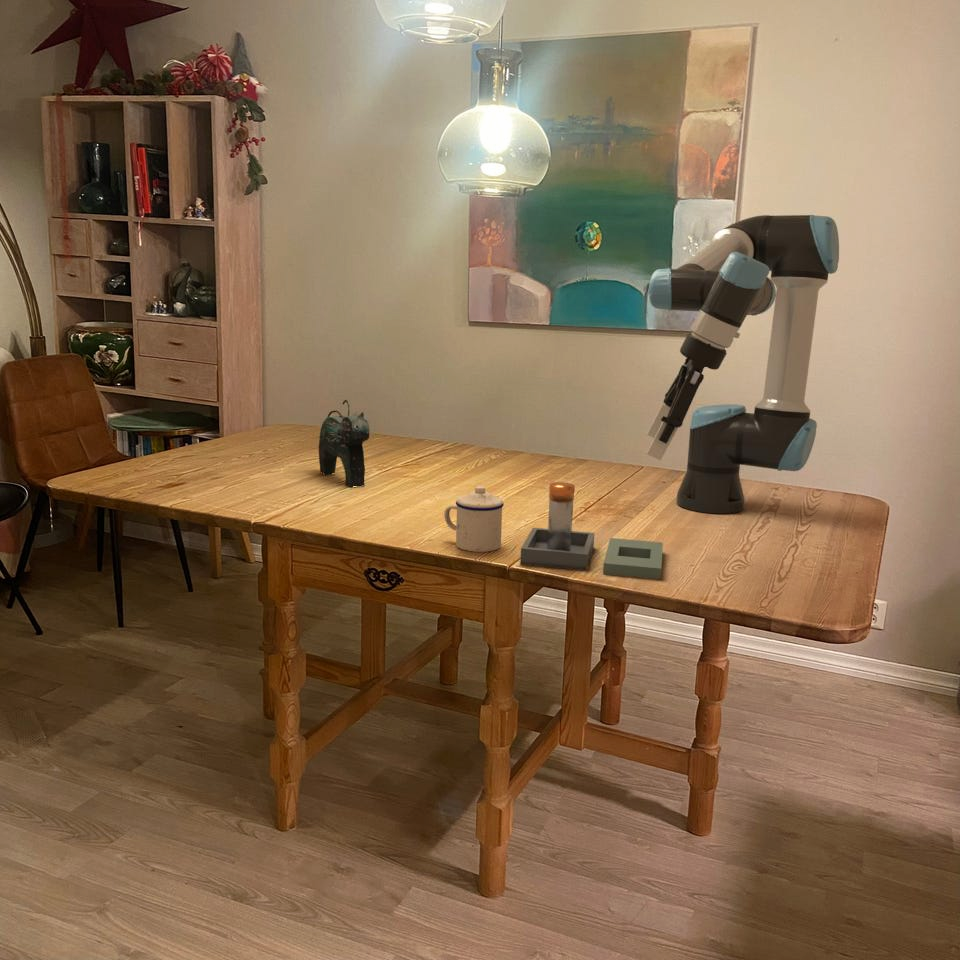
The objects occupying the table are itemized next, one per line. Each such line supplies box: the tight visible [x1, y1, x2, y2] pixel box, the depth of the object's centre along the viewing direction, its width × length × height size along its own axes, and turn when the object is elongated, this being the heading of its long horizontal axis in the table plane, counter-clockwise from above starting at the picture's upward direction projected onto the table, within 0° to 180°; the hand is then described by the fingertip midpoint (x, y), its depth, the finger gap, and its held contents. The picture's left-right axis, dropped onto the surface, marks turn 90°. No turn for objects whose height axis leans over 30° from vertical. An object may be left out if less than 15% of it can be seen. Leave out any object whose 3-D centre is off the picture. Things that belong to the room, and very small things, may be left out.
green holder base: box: [602, 537, 664, 580], centre depth 171 cm, size 16×10×2 cm, turn 168°
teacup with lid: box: [443, 485, 505, 553], centre depth 178 cm, size 12×9×12 cm
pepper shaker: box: [547, 481, 576, 551], centre depth 172 cm, size 5×5×13 cm
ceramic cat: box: [318, 399, 370, 488], centre depth 225 cm, size 20×6×20 cm, turn 35°
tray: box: [519, 527, 595, 571], centre depth 174 cm, size 14×12×3 cm
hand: (653, 446), depth 170 cm, fingers open, 13 cm apart
